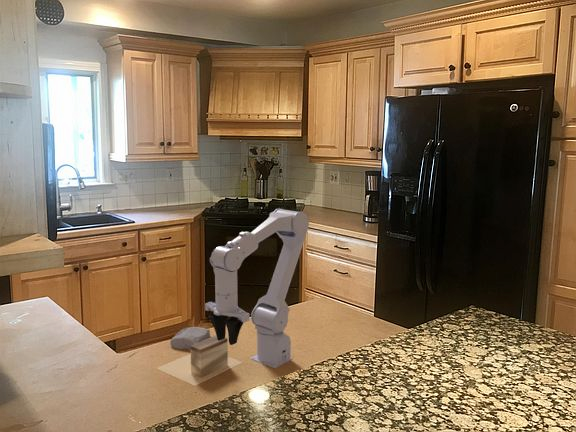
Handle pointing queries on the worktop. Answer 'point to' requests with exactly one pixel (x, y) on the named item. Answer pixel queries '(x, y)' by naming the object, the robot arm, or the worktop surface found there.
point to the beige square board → (183, 370)
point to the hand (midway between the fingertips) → (227, 341)
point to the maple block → (208, 356)
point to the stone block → (189, 337)
